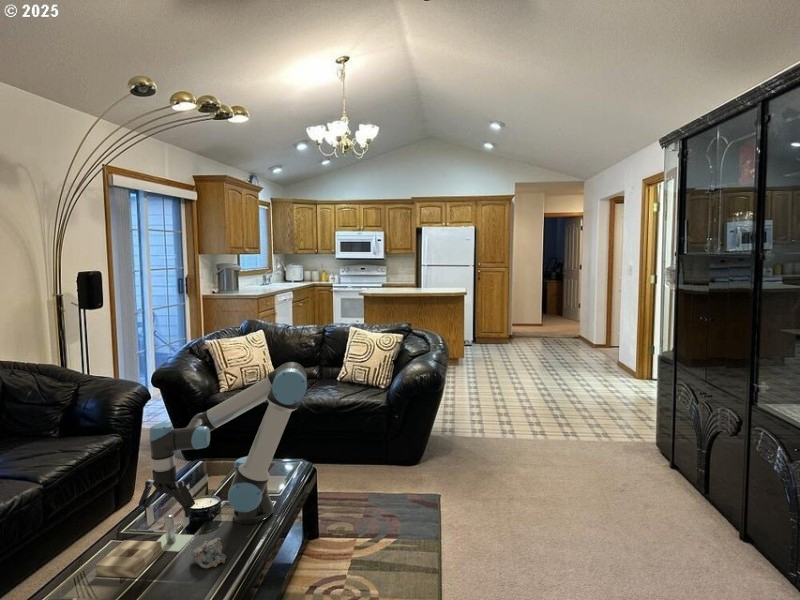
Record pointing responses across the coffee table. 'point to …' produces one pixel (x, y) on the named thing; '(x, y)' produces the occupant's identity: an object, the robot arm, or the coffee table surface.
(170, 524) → the pin
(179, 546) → the mat
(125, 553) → the hole block
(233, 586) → the coffee table surface
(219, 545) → the mineral specimen
